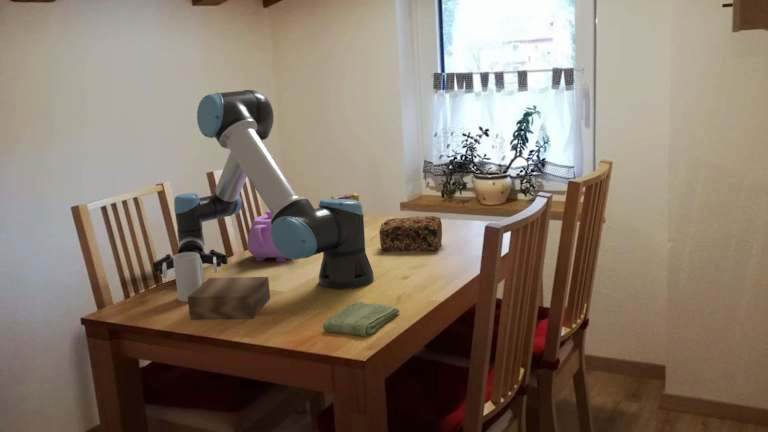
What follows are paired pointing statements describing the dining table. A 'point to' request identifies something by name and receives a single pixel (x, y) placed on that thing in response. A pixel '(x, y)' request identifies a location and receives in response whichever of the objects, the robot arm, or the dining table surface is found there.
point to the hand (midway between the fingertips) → (189, 270)
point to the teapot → (262, 239)
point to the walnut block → (229, 298)
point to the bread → (411, 234)
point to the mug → (187, 273)
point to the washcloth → (360, 319)
